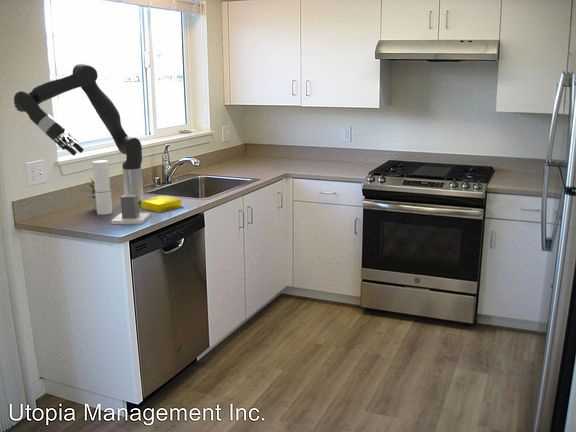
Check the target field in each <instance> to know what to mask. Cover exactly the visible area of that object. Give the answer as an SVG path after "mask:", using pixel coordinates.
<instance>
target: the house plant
mask: <svg viewBox="0 0 576 432" xmlns="http://www.w3.org/2000/svg"><path fill="white" fill-rule="evenodd" d="M89 179H90V180H91V183H88V182H86V184H87V185H88V186H90V188H91V189H90V190H87V189H85V188H84V190H86V191H84V193H87V192H89V193H90V194H91V196H90V199H91V200H90V201H91V203H92V207H93V210H94V211H97V207H96V197H95V186H94V178H92V177H89Z"/></svg>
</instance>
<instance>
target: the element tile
mask: <svg viewBox="0 0 576 432" xmlns="http://www.w3.org/2000/svg"><path fill="white" fill-rule="evenodd" d="M140 204H141V209H143V210H147V211H152V212H155V213H156V212H157V213H162V212H167V211H170V210H174V209H177V208H182V199H181V198H179V197H173V196H169V195H164V194H163V195H158V196H153V197H149V198H144V199H143V200H142V201H140Z"/></svg>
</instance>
